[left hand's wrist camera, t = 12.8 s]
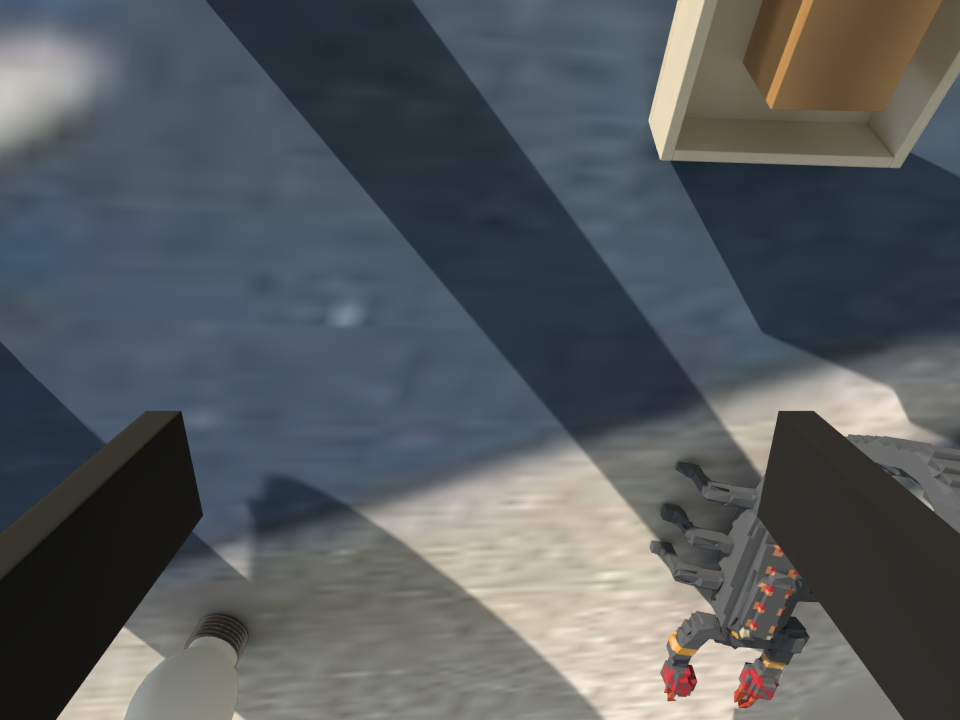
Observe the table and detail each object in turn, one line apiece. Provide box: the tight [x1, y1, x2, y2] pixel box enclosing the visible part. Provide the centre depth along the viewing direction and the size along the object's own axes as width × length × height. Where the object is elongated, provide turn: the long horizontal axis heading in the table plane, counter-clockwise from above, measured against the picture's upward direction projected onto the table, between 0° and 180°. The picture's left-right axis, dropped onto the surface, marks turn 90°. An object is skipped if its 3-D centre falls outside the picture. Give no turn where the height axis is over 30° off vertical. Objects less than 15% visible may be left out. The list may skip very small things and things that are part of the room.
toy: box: [650, 434, 960, 708], centre depth 33 cm, size 13×27×18 cm, turn 171°
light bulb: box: [124, 615, 248, 720], centre depth 42 cm, size 7×7×11 cm
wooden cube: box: [743, 0, 943, 111], centre depth 26 cm, size 5×5×5 cm
